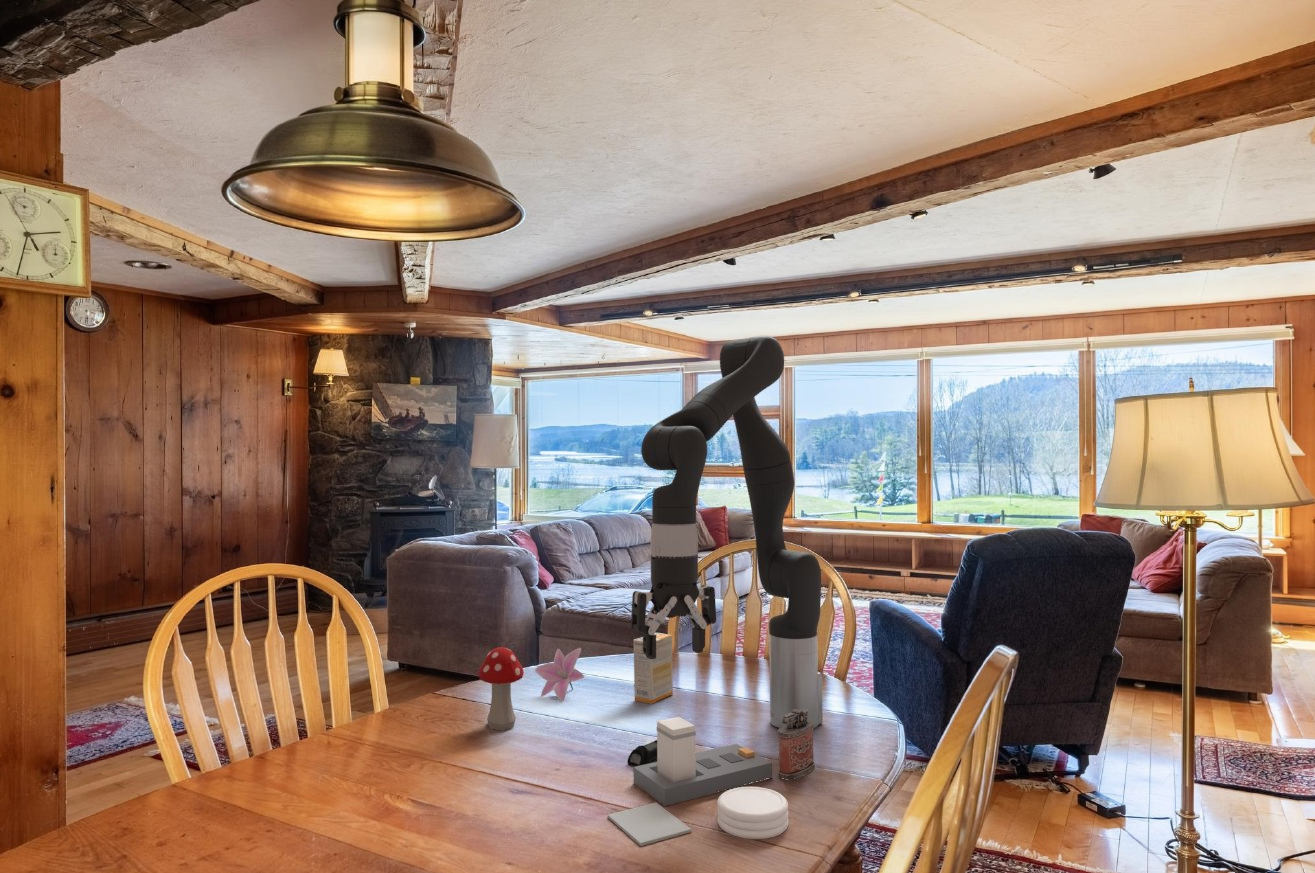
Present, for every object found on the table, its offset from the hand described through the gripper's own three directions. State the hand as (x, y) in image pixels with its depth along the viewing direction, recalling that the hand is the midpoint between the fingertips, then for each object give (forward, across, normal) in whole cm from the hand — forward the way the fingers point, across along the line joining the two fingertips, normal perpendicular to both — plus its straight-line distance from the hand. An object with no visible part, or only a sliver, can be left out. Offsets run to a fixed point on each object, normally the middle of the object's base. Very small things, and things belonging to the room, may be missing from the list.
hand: (674, 654), depth 128 cm
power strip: (+21, -5, 0) cm, 21 cm away
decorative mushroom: (+21, +14, -43) cm, 50 cm away
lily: (+21, -4, -56) cm, 60 cm away
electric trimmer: (+21, -5, -14) cm, 26 cm away
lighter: (+21, -20, +5) cm, 29 cm away
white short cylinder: (+21, -4, +16) cm, 27 cm away
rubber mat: (+21, +10, +9) cm, 25 cm away
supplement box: (+20, -20, -43) cm, 52 cm away
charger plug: (+21, 0, 0) cm, 21 cm away
